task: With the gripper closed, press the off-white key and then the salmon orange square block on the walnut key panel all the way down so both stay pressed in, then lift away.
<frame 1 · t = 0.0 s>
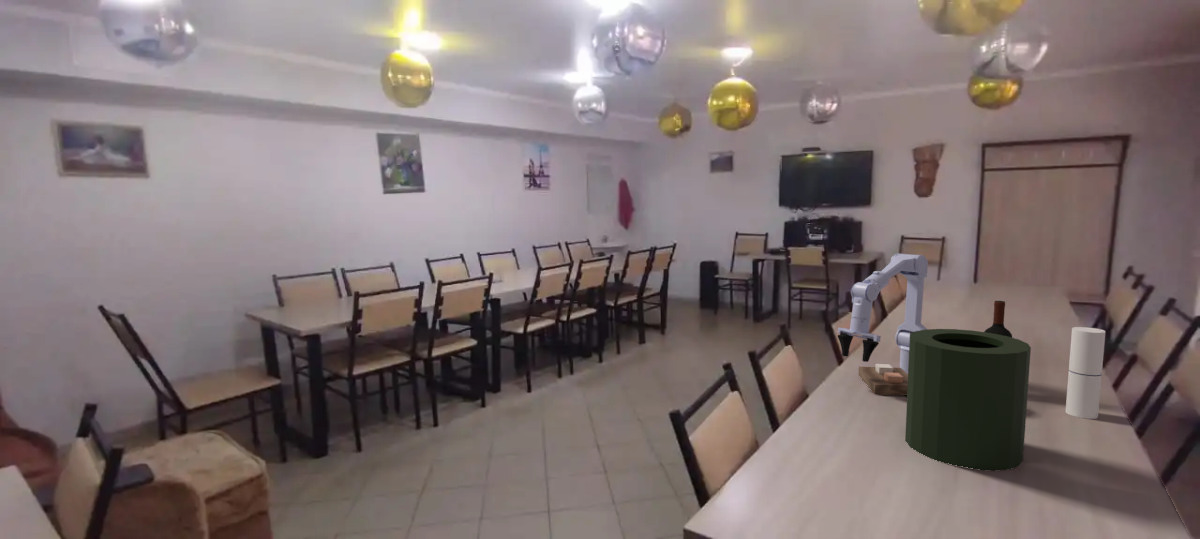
hand: (855, 358, 184), 11 cm above the table, tool pointing down, fingers open, 7 cm apart
flower pot: (960, 448, 141), on the table
off white key: (884, 370, 193), point 4 cm above the table, slide at 0.0 cm
wine bottle: (994, 392, 180), on the table
salmon orange square block: (893, 379, 183), point 4 cm above the table, slide at 0.0 cm
key panel: (888, 385, 188), on the table
cylindrical container: (1081, 414, 160), on the table
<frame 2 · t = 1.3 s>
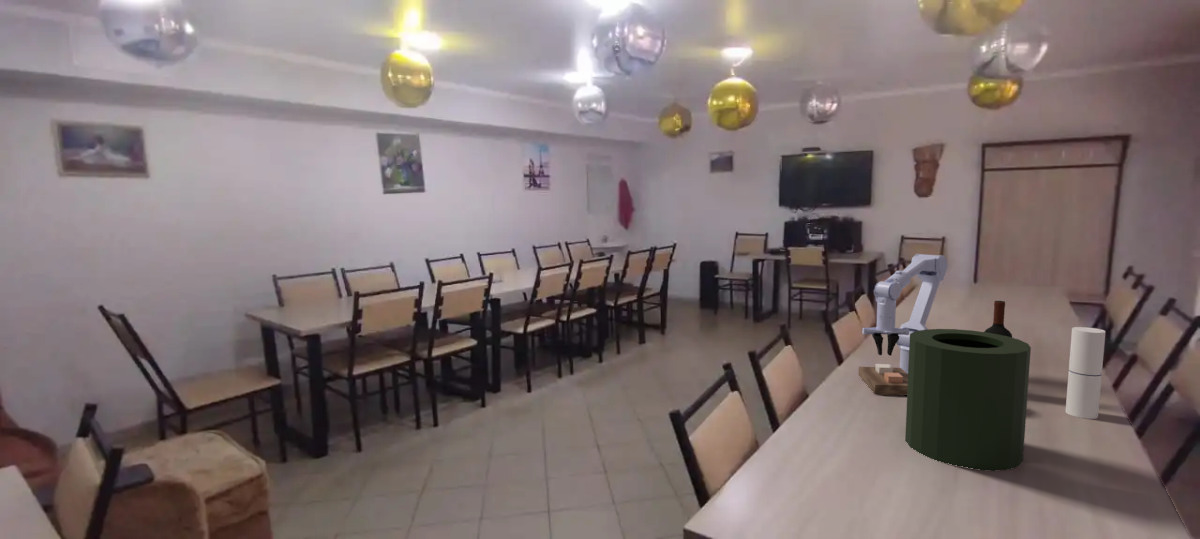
hand: (884, 354, 192), 9 cm above the table, tool pointing down, fingers closed
nothing on the table moved.
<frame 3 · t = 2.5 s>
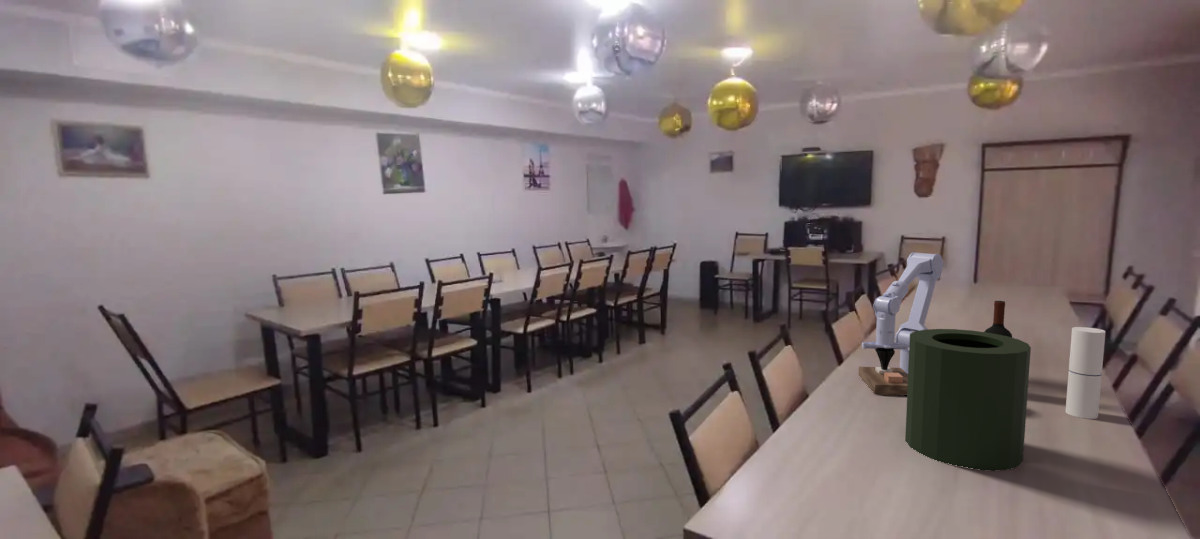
hand: (884, 369, 193), 4 cm above the table, tool pointing down, fingers closed, pressing on off white key
off white key: (883, 373, 193), point 3 cm above the table, slide at 1.1 cm, touching gripper
everything else where it was.
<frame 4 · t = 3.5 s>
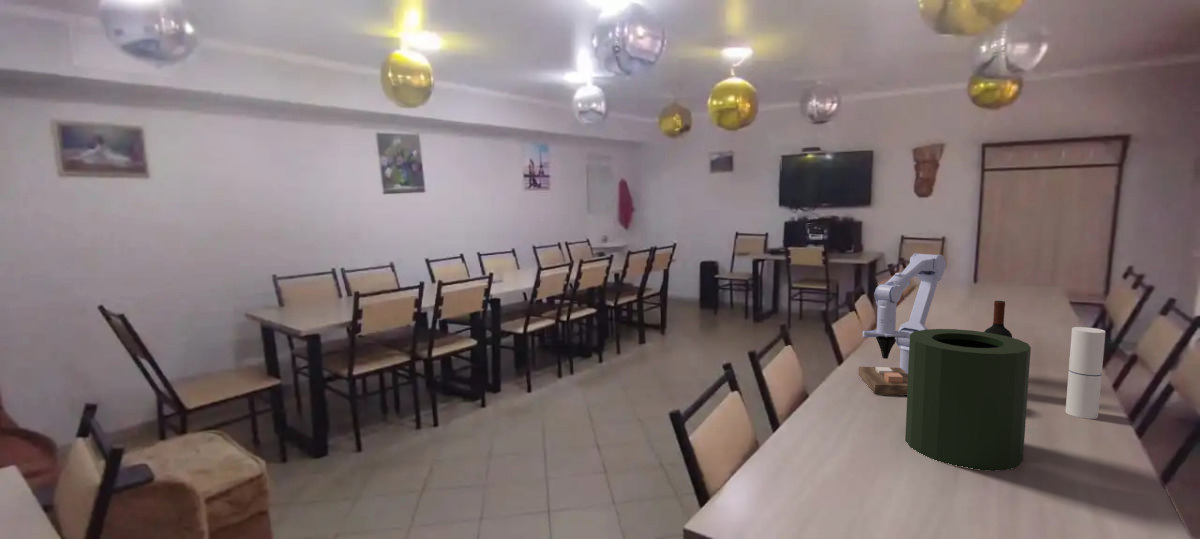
hand: (884, 357, 192), 8 cm above the table, tool pointing down, fingers closed
off white key: (883, 373, 193), point 3 cm above the table, slide at 1.1 cm
everything else where it was.
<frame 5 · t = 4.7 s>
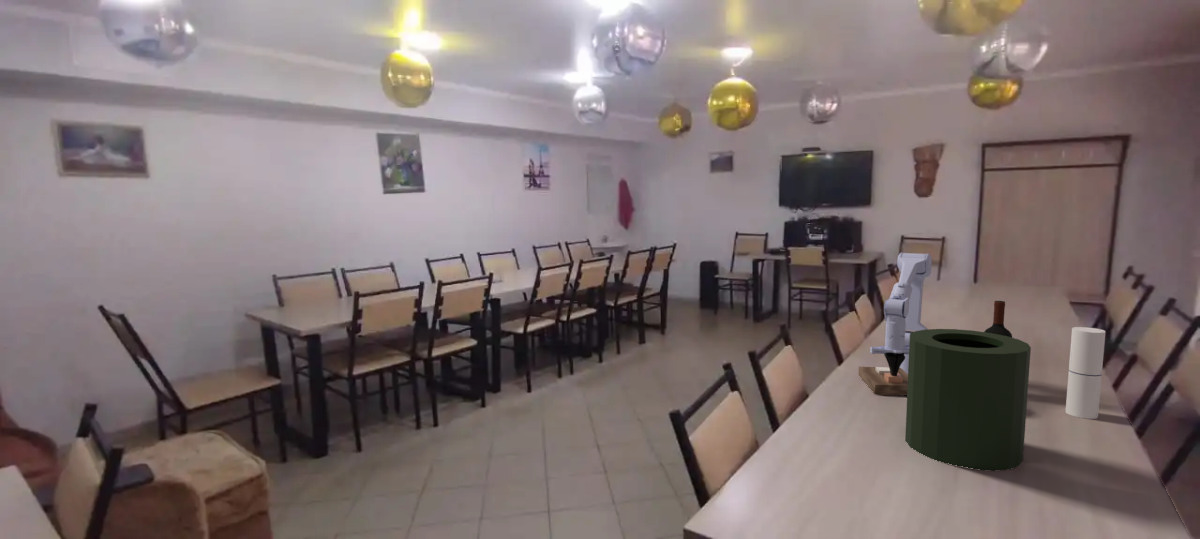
hand: (893, 375, 183), 5 cm above the table, tool pointing down, fingers closed, pressing on salmon orange square block
salmon orange square block: (893, 379, 183), point 4 cm above the table, slide at 0.2 cm, touching gripper
everything else where it was.
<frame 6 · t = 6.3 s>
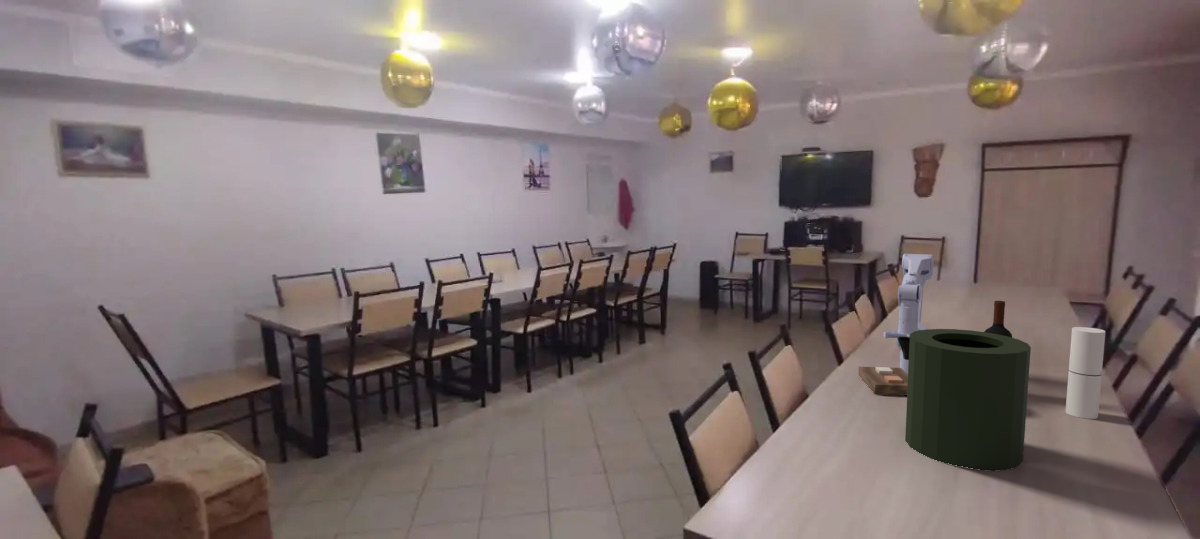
hand: (906, 359, 187), 9 cm above the table, tool pointing down, fingers closed
salmon orange square block: (893, 382, 183), point 3 cm above the table, slide at 1.1 cm
everything else where it was.
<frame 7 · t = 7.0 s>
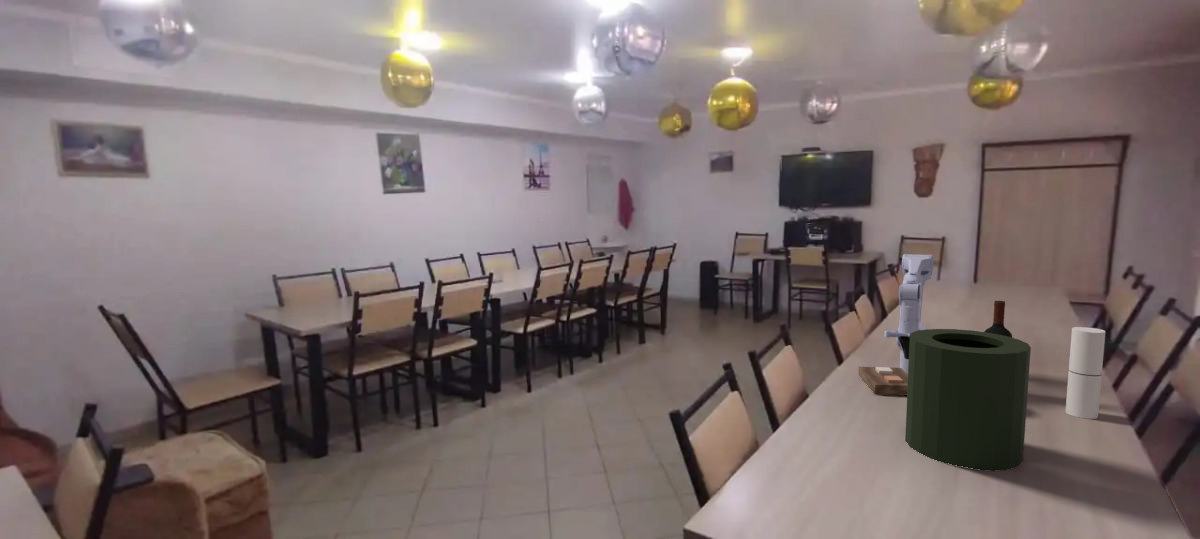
hand: (907, 358, 187), 9 cm above the table, tool pointing down, fingers closed
nothing on the table moved.
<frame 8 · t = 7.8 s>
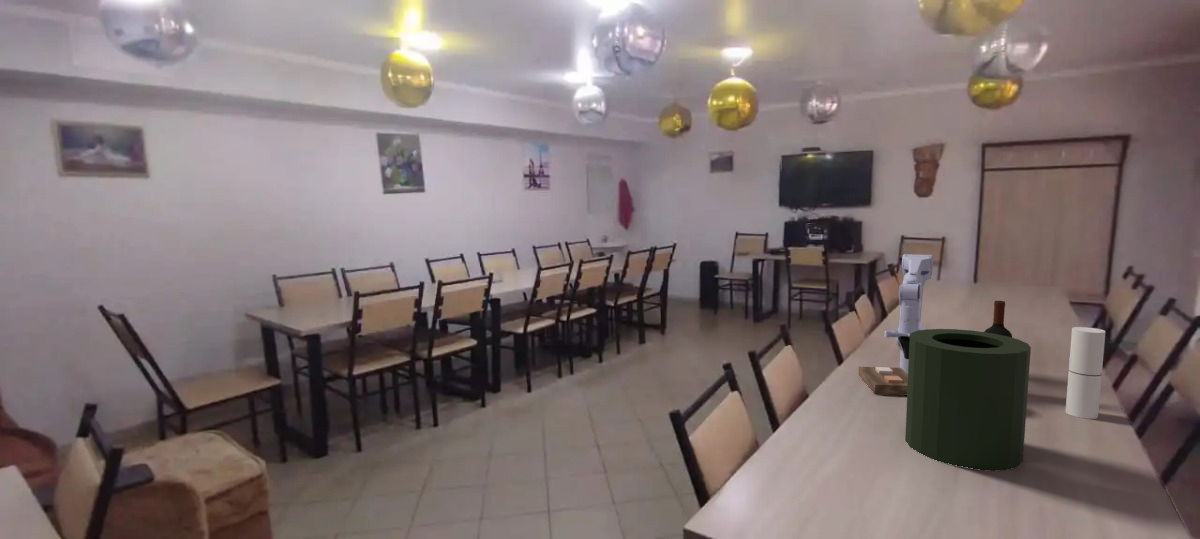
hand: (907, 358, 187), 9 cm above the table, tool pointing down, fingers closed
nothing on the table moved.
at the end: off white key slide at 1.1 cm; salmon orange square block slide at 1.1 cm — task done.
